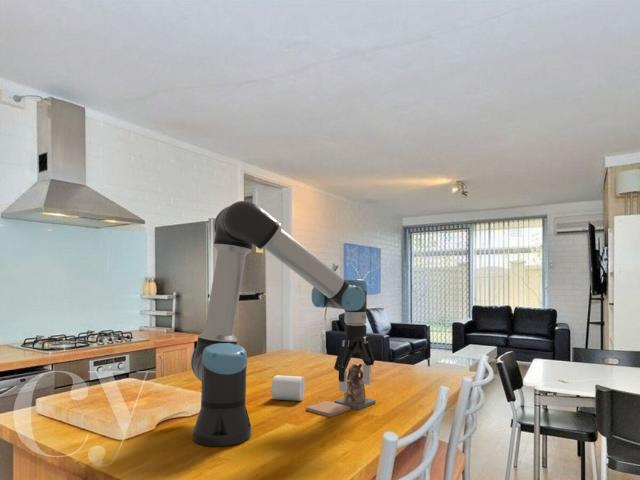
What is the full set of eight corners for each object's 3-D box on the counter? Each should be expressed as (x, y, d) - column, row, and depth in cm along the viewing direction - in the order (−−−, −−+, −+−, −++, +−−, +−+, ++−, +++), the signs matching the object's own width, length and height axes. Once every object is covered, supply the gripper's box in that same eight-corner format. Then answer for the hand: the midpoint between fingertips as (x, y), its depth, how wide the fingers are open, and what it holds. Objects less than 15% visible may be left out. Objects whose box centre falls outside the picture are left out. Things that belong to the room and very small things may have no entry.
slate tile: (358, 409, 143) (358, 406, 143) (334, 403, 149) (334, 400, 149) (375, 403, 150) (375, 400, 150) (351, 397, 157) (351, 394, 157)
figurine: (340, 398, 152) (341, 362, 153) (358, 396, 154) (359, 361, 155) (350, 404, 145) (350, 366, 146) (369, 402, 148) (369, 365, 149)
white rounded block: (299, 403, 149) (299, 379, 149) (270, 401, 151) (271, 377, 151) (307, 394, 161) (307, 372, 161) (281, 392, 163) (281, 370, 163)
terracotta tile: (330, 417, 135) (330, 413, 135) (305, 410, 141) (306, 407, 141) (349, 409, 142) (349, 406, 143) (325, 403, 149) (325, 400, 149)
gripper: (342, 328, 140) (341, 396, 138) (384, 322, 159) (384, 382, 157) (323, 326, 145) (323, 392, 143) (367, 320, 164) (366, 379, 162)
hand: (355, 387), depth 150 cm, fingers open, 13 cm apart
